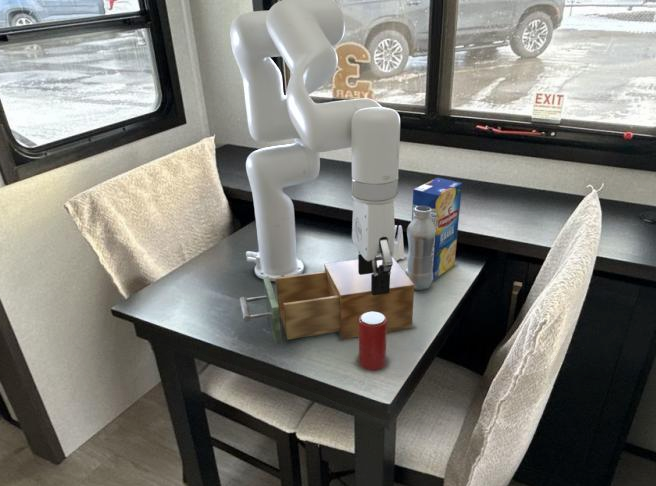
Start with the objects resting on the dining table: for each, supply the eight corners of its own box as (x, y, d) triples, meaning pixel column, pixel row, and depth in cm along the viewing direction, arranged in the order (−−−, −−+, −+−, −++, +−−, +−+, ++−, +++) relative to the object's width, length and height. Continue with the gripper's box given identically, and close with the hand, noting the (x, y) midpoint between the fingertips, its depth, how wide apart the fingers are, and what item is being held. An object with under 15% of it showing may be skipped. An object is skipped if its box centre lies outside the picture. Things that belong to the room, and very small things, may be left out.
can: (363, 372, 105) (363, 327, 100) (355, 356, 109) (355, 312, 104) (389, 367, 106) (390, 322, 101) (380, 352, 110) (381, 308, 105)
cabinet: (341, 339, 115) (340, 295, 109) (325, 304, 127) (324, 263, 121) (412, 327, 118) (414, 284, 112) (389, 295, 130) (391, 254, 125)
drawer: (247, 349, 111) (243, 312, 106) (241, 315, 122) (236, 280, 118) (344, 333, 115) (343, 297, 110) (329, 302, 126) (328, 268, 122)
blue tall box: (408, 273, 139) (413, 189, 128) (431, 257, 147) (437, 177, 135) (432, 280, 136) (438, 195, 124) (454, 264, 143) (462, 182, 132)
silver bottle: (431, 294, 130) (437, 214, 120) (403, 291, 131) (406, 213, 121) (433, 281, 135) (439, 204, 125) (405, 279, 137) (409, 202, 126)
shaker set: (359, 252, 151) (359, 214, 145) (368, 246, 153) (369, 209, 148) (396, 263, 144) (398, 224, 138) (405, 258, 147) (407, 219, 141)
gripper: (339, 174, 96) (341, 264, 105) (368, 209, 82) (367, 310, 91) (380, 170, 98) (378, 259, 107) (415, 203, 83) (410, 304, 92)
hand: (373, 282), depth 99 cm, fingers open, 7 cm apart
